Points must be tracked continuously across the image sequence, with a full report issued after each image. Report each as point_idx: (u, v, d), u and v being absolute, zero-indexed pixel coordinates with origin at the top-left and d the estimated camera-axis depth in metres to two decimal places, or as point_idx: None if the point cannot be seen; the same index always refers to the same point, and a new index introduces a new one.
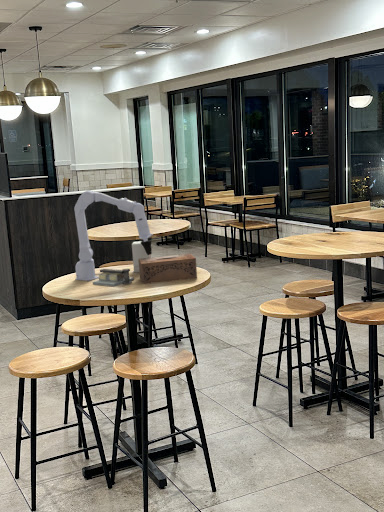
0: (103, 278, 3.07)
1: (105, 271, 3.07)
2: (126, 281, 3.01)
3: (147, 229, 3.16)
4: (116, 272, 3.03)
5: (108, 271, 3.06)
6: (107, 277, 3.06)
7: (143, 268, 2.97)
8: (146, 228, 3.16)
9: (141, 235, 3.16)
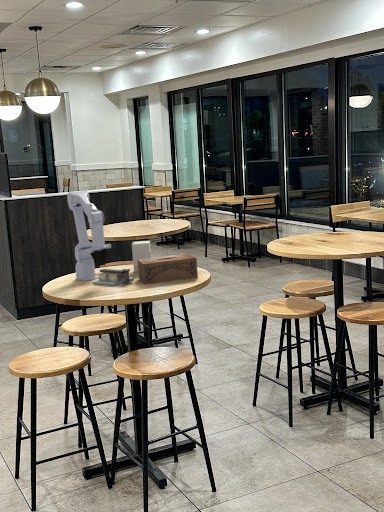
0: (103, 278, 3.07)
1: (105, 271, 3.07)
2: (126, 281, 3.01)
3: (98, 241, 2.96)
4: (116, 272, 3.03)
5: (108, 271, 3.06)
6: (107, 277, 3.06)
7: (145, 268, 2.96)
8: (97, 239, 2.96)
9: (92, 245, 2.98)
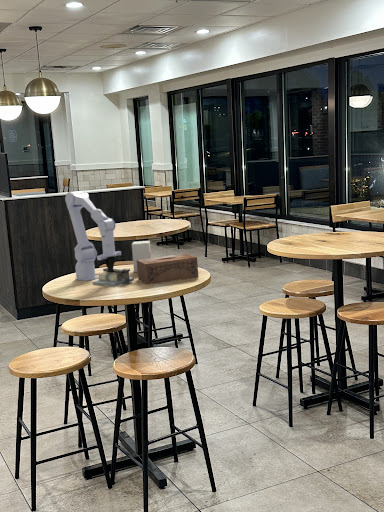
0: (103, 278, 3.07)
1: (107, 270, 3.09)
2: (126, 281, 3.01)
3: (108, 248, 3.02)
4: (117, 272, 3.04)
5: None
6: (107, 277, 3.06)
7: (147, 268, 2.96)
8: (107, 247, 3.02)
9: (103, 252, 3.04)
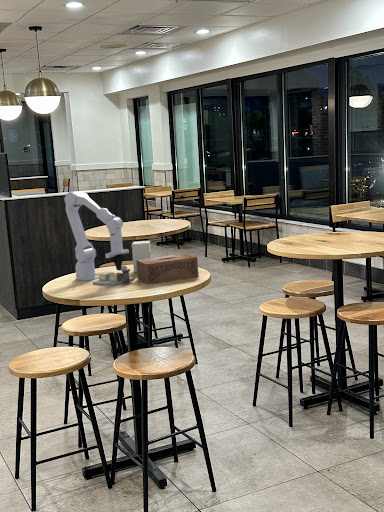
0: (103, 278, 3.07)
1: None
2: (126, 281, 3.01)
3: (116, 246, 3.06)
4: None
5: (121, 268, 3.11)
6: (107, 277, 3.06)
7: (148, 269, 2.95)
8: (115, 245, 3.06)
9: (111, 250, 3.08)
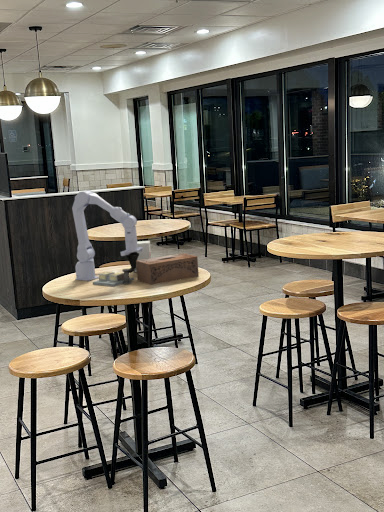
0: (103, 278, 3.07)
1: None
2: (126, 281, 3.01)
3: (131, 244, 3.10)
4: None
5: None
6: (107, 277, 3.06)
7: (150, 269, 2.94)
8: (130, 243, 3.09)
9: (126, 248, 3.12)
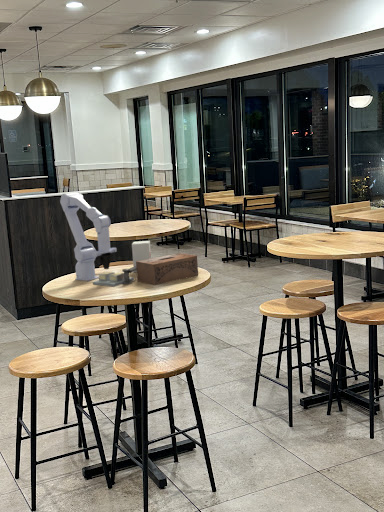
0: (103, 278, 3.07)
1: None
2: (126, 281, 3.01)
3: (104, 244, 3.04)
4: None
5: None
6: (107, 277, 3.06)
7: (154, 269, 2.94)
8: (103, 243, 3.04)
9: None
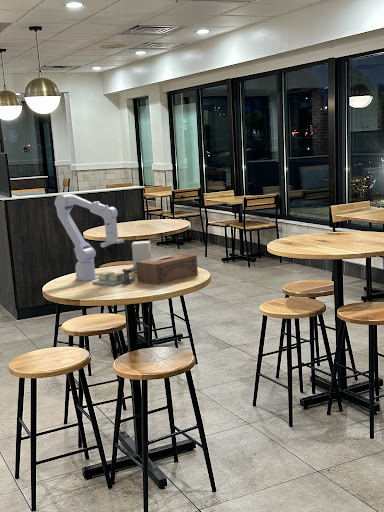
0: (103, 278, 3.07)
1: None
2: (126, 281, 3.01)
3: (112, 235, 3.08)
4: None
5: None
6: (107, 277, 3.06)
7: (156, 269, 2.93)
8: (110, 234, 3.08)
9: (106, 239, 3.10)
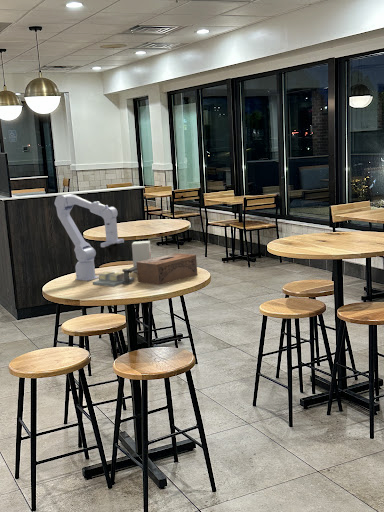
0: (103, 278, 3.07)
1: None
2: (126, 281, 3.01)
3: (112, 235, 3.08)
4: None
5: None
6: (107, 277, 3.06)
7: (158, 269, 2.93)
8: (110, 234, 3.08)
9: (106, 239, 3.10)
